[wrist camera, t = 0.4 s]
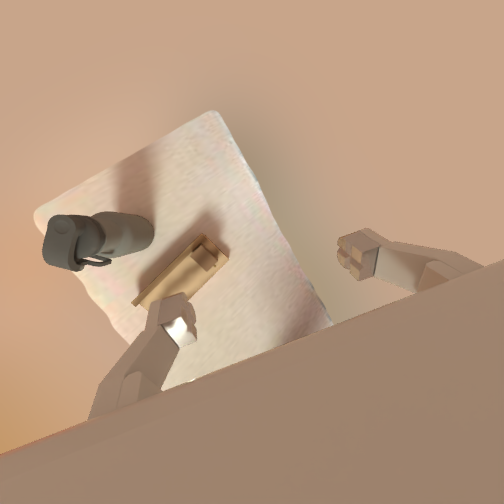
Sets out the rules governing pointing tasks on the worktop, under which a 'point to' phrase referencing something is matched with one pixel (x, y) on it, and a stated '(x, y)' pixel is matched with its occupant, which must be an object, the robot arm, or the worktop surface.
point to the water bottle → (94, 238)
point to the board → (181, 275)
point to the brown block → (204, 258)
